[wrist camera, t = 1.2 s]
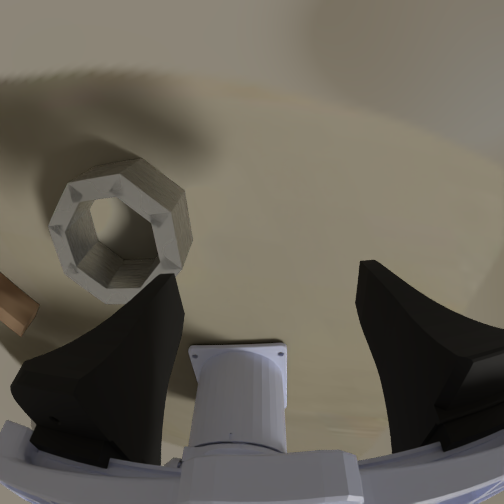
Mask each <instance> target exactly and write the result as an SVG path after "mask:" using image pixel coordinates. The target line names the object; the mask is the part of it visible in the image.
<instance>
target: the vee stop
mask: <svg viewBox="0 0 504 504" xmlns="http://www.w3.org/2000/svg"><path fill="white" fill-rule="evenodd" d="M39 306H40V305H39V304H38V303H36V302H35V301H34V300H33V299H31V298H30V297H29V296H28V295H26V294H25V293H24V292H23V291H22V290H20V289H19V288H18V287H17V286H16V285H14V284H13V283H12V282H11V281H10V280H9V279H7V278H6V277H5V276H4V275H3V274H2V273H1V272H0V320H1V321H2V322H3V323H4V324H5V325H7V326H8V327H9V328H10V329H12V330H13V331H14V332H15V333H17V334H18V335H19V336H20V337H21V336H22V335H23V333H24V332H25V331H26V329H27V328H28V326H29V325H30V323H31V322H32V321H33V319H34V318H35V317H36V314H37V311H38V308H39Z"/></svg>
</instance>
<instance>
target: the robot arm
mask: <svg viewBox="0 0 504 504" xmlns="http://www.w3.org/2000/svg"><path fill="white" fill-rule="evenodd" d="M355 304H356V308H357V313H358V317H359V321H360V324H361V327H362V330H363V332H364V335H365V337H366V340H367V343H368V345H369V348H370V350H371V353H372V356H373V358H374V361H375V364H376V366H377V369H378V373H379V376H380V380H381V384H382V389H383V393H384V398H385V403H386V409H387V415H388V421H389V428H390V436H391V446H392V454H390V455H386V456H381V457H376V458H371V459H366V460H360V461H357V458H356V455H354V454H352V453H348V452H345V451H342V450H315V451H305V452H293V453H287V447H286V428H285V411H284V409H285V408H286V407H287V346H286V344H284V343H266V344H242V345H193V346H190V347H189V349H188V353H189V356H190V360H191V363H192V366H193V369H194V373H195V376H196V379H197V382H198V388H197V394H196V400H195V406H194V413H193V419H192V425H191V432H190V439H189V445H188V447H184V450H183V457H182V459H180V458H172V459H171V460H170V461H169V462H168V463H166V464H165V465H164V466H161V441H162V427H163V417H164V408H165V400H166V393H167V387H168V383H169V378H170V375H171V371H172V368H173V364H174V361H175V357H176V354H177V350H178V347H179V343H180V339H181V336H182V330H183V323H184V315H185V313H184V309H183V306H182V302H181V298H180V294H179V290H178V286H177V282H176V278H175V274H174V273H167V274H159V275H158V276H156V277H155V278H154V279H153V280H152V281H151V282H150V283H149V284H147V285H146V286H145V287H144V288H143V289H142V290H141V291H140V292H139V293H138V294H137V295H135V296H134V297H133V298H132V299H131V300H130V301H129V302H128V303H126V304H125V305H124V306H123V307H122V308H120V309H119V310H118V311H117V312H116V313H115V314H113V315H112V316H111V317H110V318H108V319H107V320H106V321H104V322H103V323H101V324H100V325H98V326H97V327H96V328H94V329H93V330H91V331H89V332H88V333H86V334H84V335H83V336H81V337H79V338H77V339H76V340H74V341H72V342H70V343H68V344H66V345H64V346H62V347H60V348H58V349H56V350H54V351H51V352H49V353H46V354H44V355H41V356H38V357H35V358H33V359H30V360H27V361H25V362H24V363H23V365H22V367H21V368H20V370H19V372H18V374H17V375H16V377H15V379H14V381H13V382H12V384H11V386H10V387H11V393H12V395H13V397H14V399H15V400H16V402H17V403H18V405H19V406H20V407H21V408H22V409H23V410H24V412H25V413H26V414H27V415H28V416H29V417H30V418H31V419H32V420H33V422H34V423H35V424H36V427H35V429H34V431H33V430H31V429H30V428H28V427H25V426H23V425H20V424H17V423H14V422H12V421H9V420H7V421H6V422H5V424H4V426H3V428H2V430H1V432H0V483H1V484H2V485H3V486H5V487H6V488H8V489H9V490H11V491H12V492H14V493H15V494H17V495H18V496H20V497H21V498H23V499H24V500H26V501H28V502H31V503H33V504H479V503H480V502H483V501H485V500H487V499H488V498H490V497H492V496H494V495H496V494H498V493H500V492H501V491H503V490H504V329H500V328H496V327H493V326H489V325H487V324H483V323H481V322H478V321H475V320H472V319H470V318H467V317H465V316H463V315H460V314H458V313H456V312H454V311H452V310H450V309H448V308H446V307H444V306H442V305H440V304H438V303H437V302H435V301H433V300H431V299H430V298H428V297H427V296H425V295H424V294H422V293H420V292H419V291H417V290H416V289H414V288H413V287H412V286H410V285H409V284H407V283H406V282H405V281H403V280H402V279H401V278H399V277H398V276H396V275H395V274H394V273H392V272H391V271H390V270H388V269H387V268H386V267H384V266H383V265H382V264H380V263H379V262H377V261H376V260H366V261H360V266H359V276H358V285H357V293H356V301H355ZM279 352H282V353H279ZM194 354H195V355H194Z"/></svg>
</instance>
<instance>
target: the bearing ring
mask: <svg viewBox="0 0 504 504" xmlns="http://www.w3.org/2000/svg"><path fill="white" fill-rule="evenodd" d="M110 197H117V198H118V199H120V200H121V201H122V202H124V203H125V204H126V205H128V206H129V207H130V208H132V209H133V210H134V211H136V212H137V213H138V214H140V215H141V216H142V217H144V218H145V219H146V220H148V221H149V222H150V223H151V224H152V229H153V233H154V238H155V242H156V246H157V251H158V256H157V257H156V258H155V259H141V260H123V259H122V258H121V257H119V256H118V255H116V254H115V253H114V252H112V251H111V250H110V249H108V248H107V247H106V246H104V245H103V244H102V243H100V242H99V241H98V239H97V235H96V232H95V228H94V225H93V221H92V217H91V213H90V210H89V209H90V208H91V206H92V204H93V202H94V200H96V199H103V198H110ZM48 228H49V231H50V234H51V237H52V240H53V243H54V246H55V249H56V252H57V255H58V258H59V260H60V263H61V266H62V268H63V271H64V274H65V275H67V276H68V277H69V278H70V279H72V280H73V281H74V282H76V283H77V284H78V285H80V286H81V287H83V288H84V289H85V290H87V291H88V292H89V293H91V294H92V295H94V296H95V297H96V298H98V299H99V300H101V301H102V302H103V303H105V304H126V303H128V302H129V301H130V300H131V299H132V298H133V297H134V296H135V295H137V294H138V293H139V292H140V291H141V290H142V289H143V288H144V287H145V286H146V285H147V284H149V283H150V282H151V281H152V280H153V279H154V278H155V277H156V276H158V275H159V274H167V273H174V274H175V277H176V276H177V274H178V273H179V272H180V271H181V270H182V268H183V266H184V263H185V260H186V258H187V255H188V252H189V250H190V247H191V244H192V242H193V238H192V232H191V226H190V220H189V214H188V208H187V201H186V195H185V191H184V190H183V189H182V188H180V187H179V186H178V185H176V184H175V183H174V182H173V181H171V180H170V179H169V178H167V177H166V176H165V175H163V174H162V173H161V172H159V171H158V170H157V169H155V168H154V167H153V166H152V165H150V164H149V163H148V162H146V161H145V160H144V159H142V158H139V159H133V160H127V161H121V162H115V163H109V164H104V165H99V166H94V167H93V168H91V169H89V170H88V171H86V172H84V173H83V174H81V175H79V176H78V177H76V178H75V179H73V180H72V181H70V182H68V183H67V185H66V187H65V189H64V192H63V194H62V196H61V198H60V200H59V202H58V204H57V207H56V209H55V211H54V213H53V216H52V218H51V220H50V223H49V225H48Z"/></svg>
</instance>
